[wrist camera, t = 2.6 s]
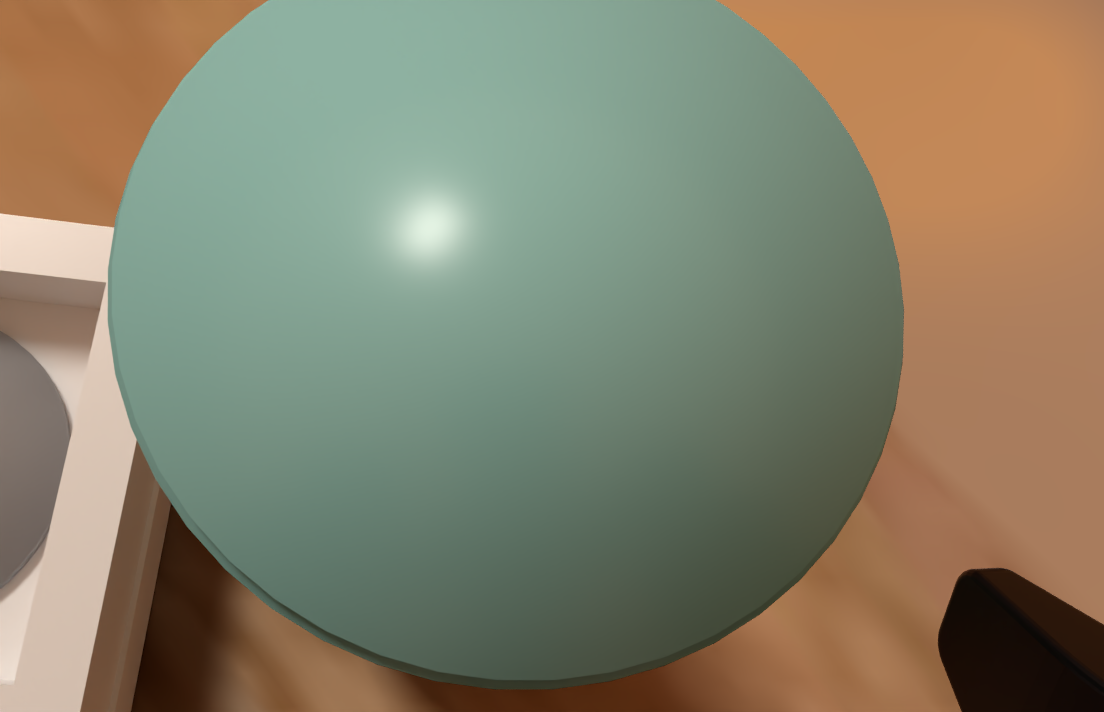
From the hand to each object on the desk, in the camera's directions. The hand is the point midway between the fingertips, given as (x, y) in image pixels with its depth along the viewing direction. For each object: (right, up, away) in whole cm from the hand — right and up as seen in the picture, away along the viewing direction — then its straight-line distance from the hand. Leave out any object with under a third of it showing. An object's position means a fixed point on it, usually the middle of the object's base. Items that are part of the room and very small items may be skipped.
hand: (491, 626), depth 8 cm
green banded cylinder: (-2, -1, +10) cm, 10 cm away
